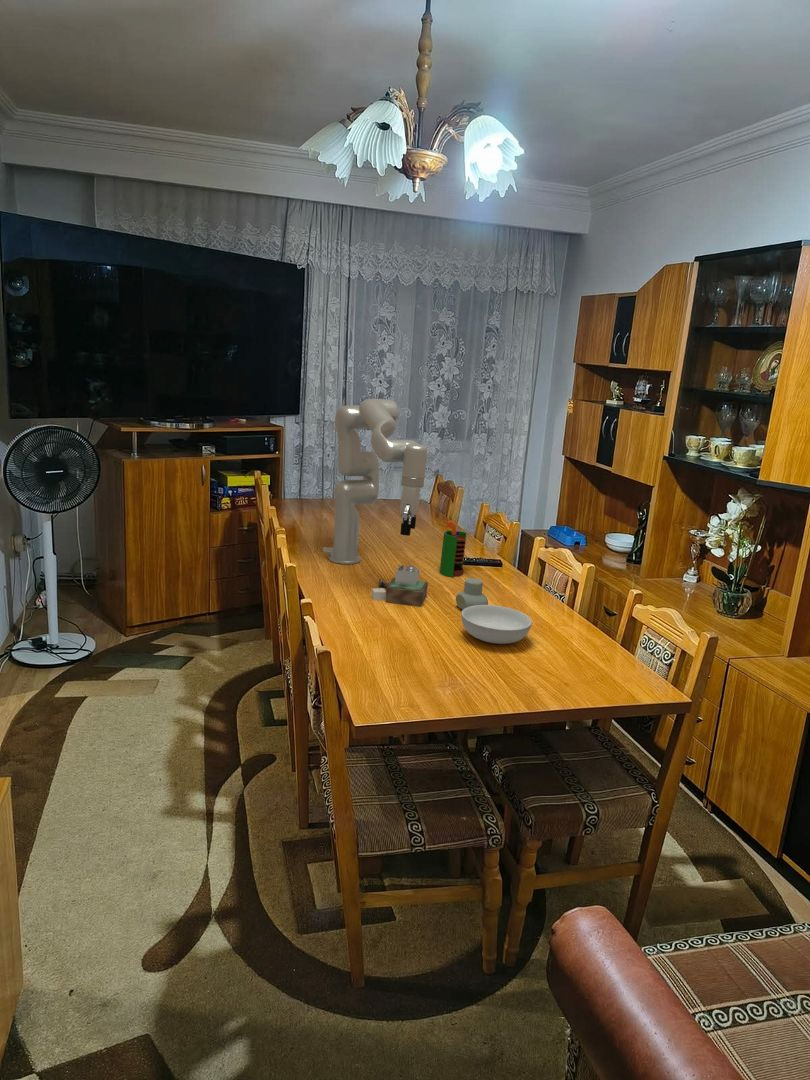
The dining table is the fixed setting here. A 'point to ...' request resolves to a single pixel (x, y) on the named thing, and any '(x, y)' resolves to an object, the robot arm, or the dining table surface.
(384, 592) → the block
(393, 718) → the dining table surface
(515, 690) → the dining table surface
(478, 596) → the grey pipe tee
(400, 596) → the plinth
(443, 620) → the dining table surface
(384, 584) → the loose bolt
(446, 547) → the motor
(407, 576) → the housing
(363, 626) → the dining table surface
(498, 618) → the serving bowl
